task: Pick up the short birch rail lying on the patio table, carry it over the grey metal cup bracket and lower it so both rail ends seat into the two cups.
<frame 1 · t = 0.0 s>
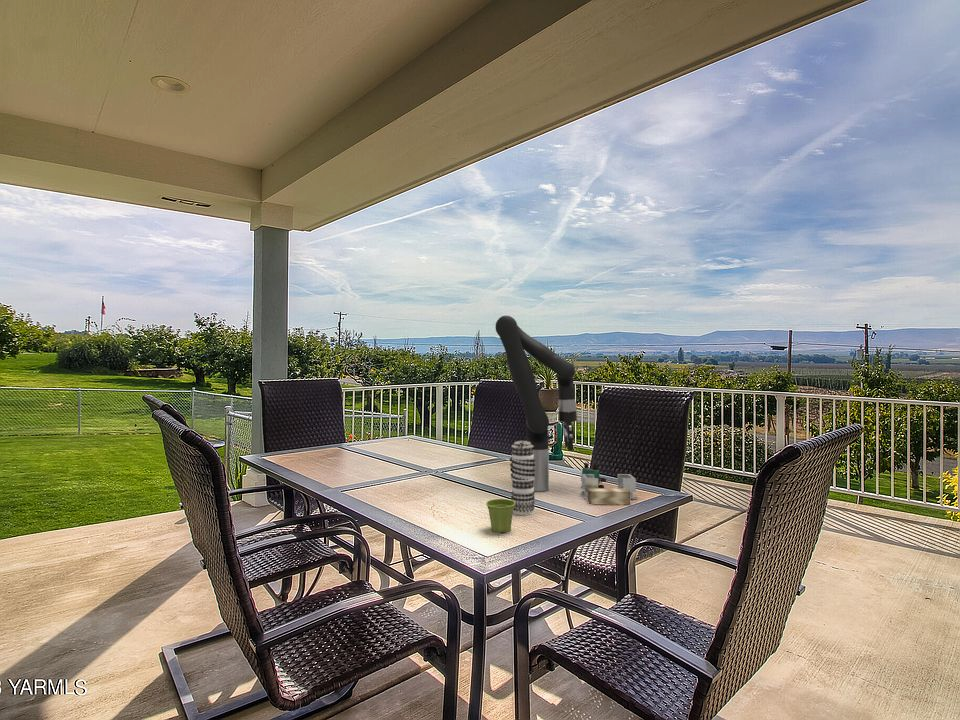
hand: (569, 448, 209), 17 cm above the table, tool pointing down, fingers open, 8 cm apart
cup bracket: (608, 496, 197), on the table
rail: (608, 503, 187), on the table
plant pot: (501, 530, 158), on the table
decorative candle: (522, 511, 178), on the table
binoculars: (593, 488, 211), on the table
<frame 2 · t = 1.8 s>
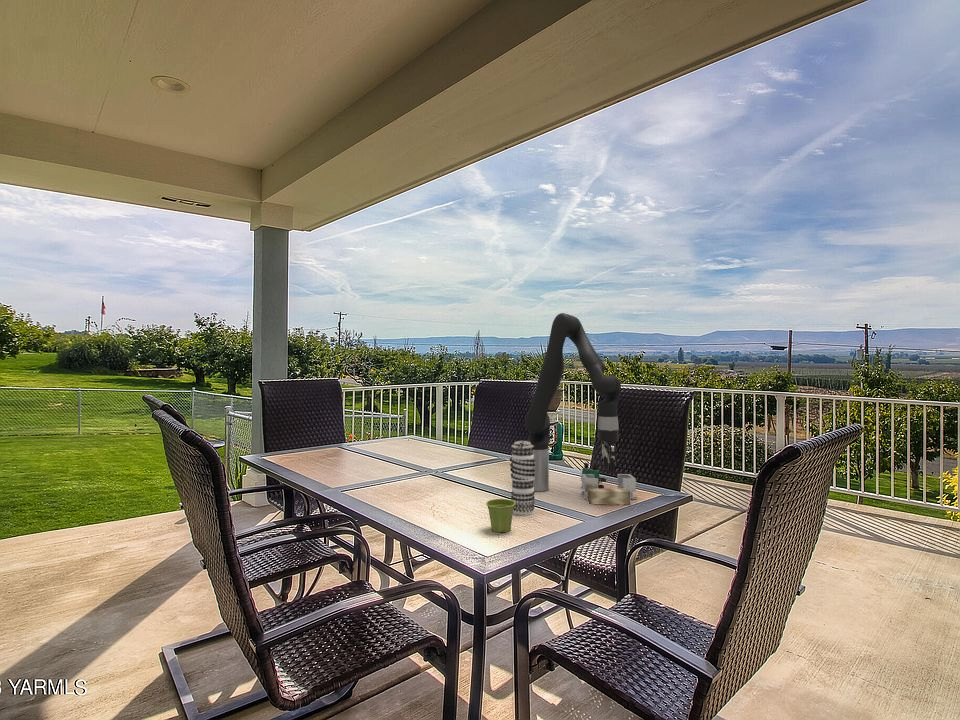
hand: (609, 470, 188), 12 cm above the table, tool pointing down, fingers open, 8 cm apart
nothing on the table moved.
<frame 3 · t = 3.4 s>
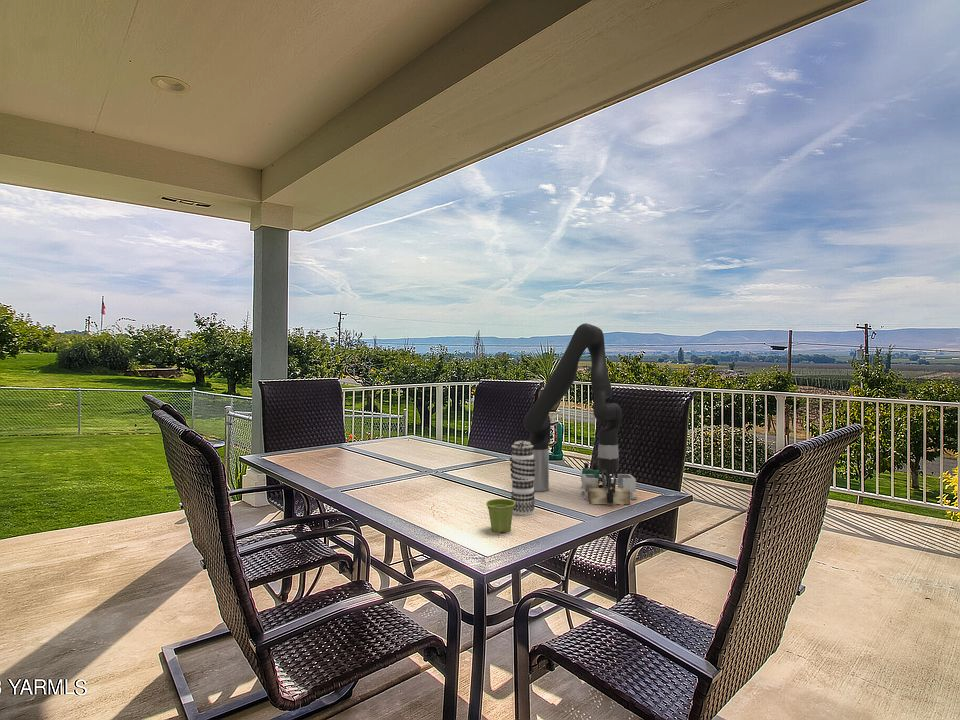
hand: (608, 500, 187), 1 cm above the table, tool pointing down, fingers closed on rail, 4 cm apart
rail: (608, 503, 187), on the table, touching gripper
everything else where it was.
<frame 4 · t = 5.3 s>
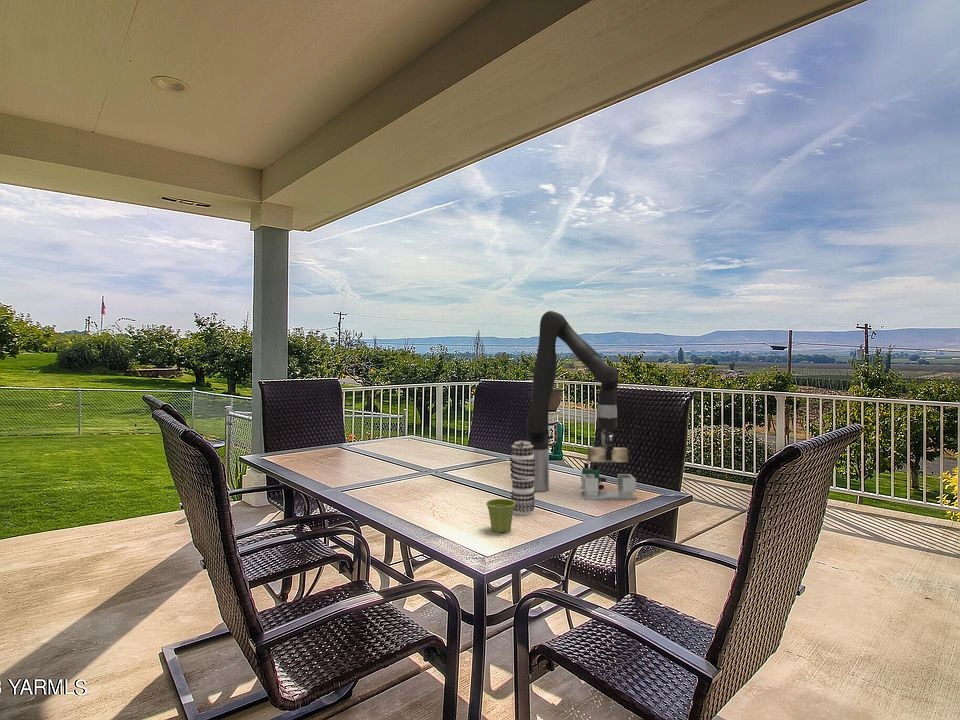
hand: (607, 458, 196), 15 cm above the table, tool pointing down, fingers closed on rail, 4 cm apart
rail: (607, 460, 196), point 14 cm above the table, touching gripper
everything else where it was.
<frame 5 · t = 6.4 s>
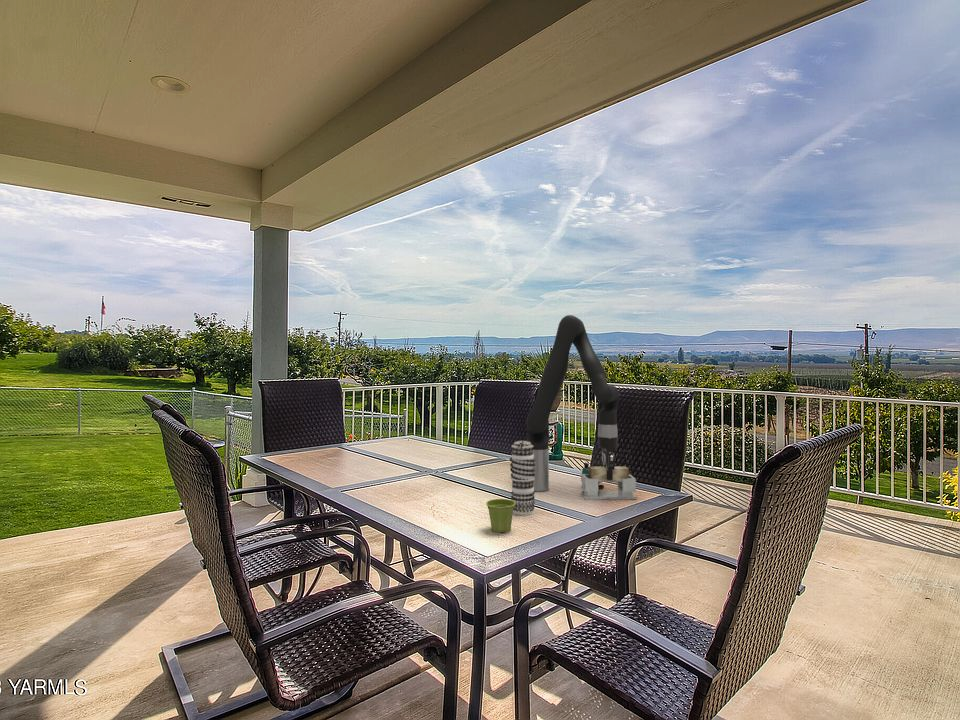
hand: (608, 478, 197), 7 cm above the table, tool pointing down, fingers closed on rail, 4 cm apart
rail: (608, 480, 197), point 6 cm above the table, touching gripper
everything else where it was.
when the fingers open (5 cm above the table, at t = 7.1 s): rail drops 1 cm, resting on cup bracket.
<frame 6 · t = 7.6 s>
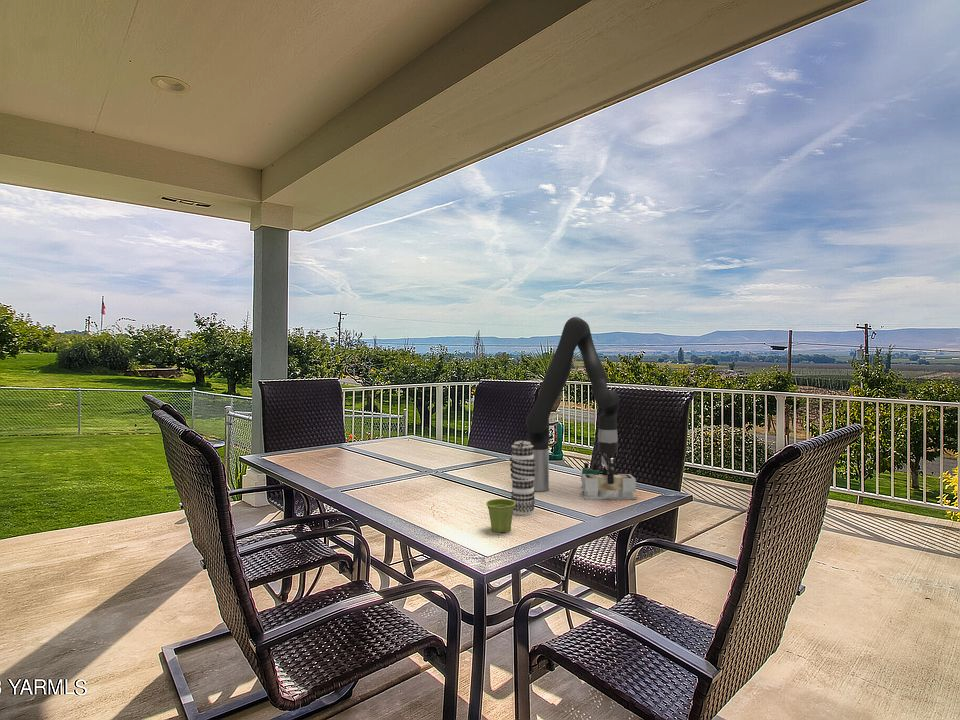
hand: (608, 481, 197), 6 cm above the table, tool pointing down, fingers open, 8 cm apart
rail: (608, 488, 197), point 3 cm above the table, touching cup bracket
everything else where it was.
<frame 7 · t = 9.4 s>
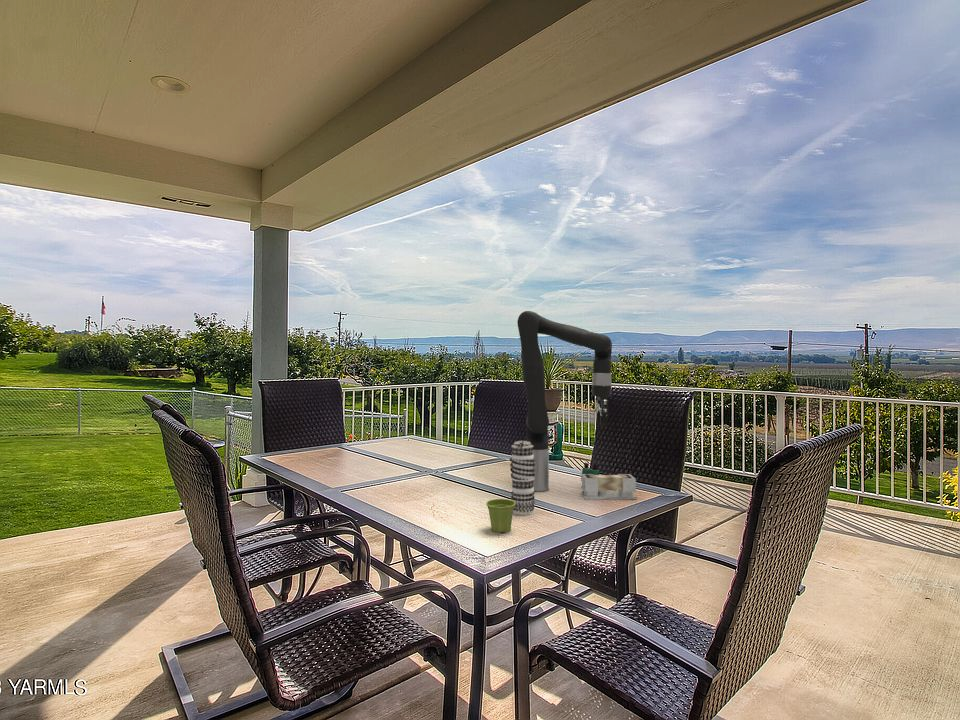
hand: (601, 424, 200), 28 cm above the table, tool pointing down, fingers open, 8 cm apart
nothing on the table moved.
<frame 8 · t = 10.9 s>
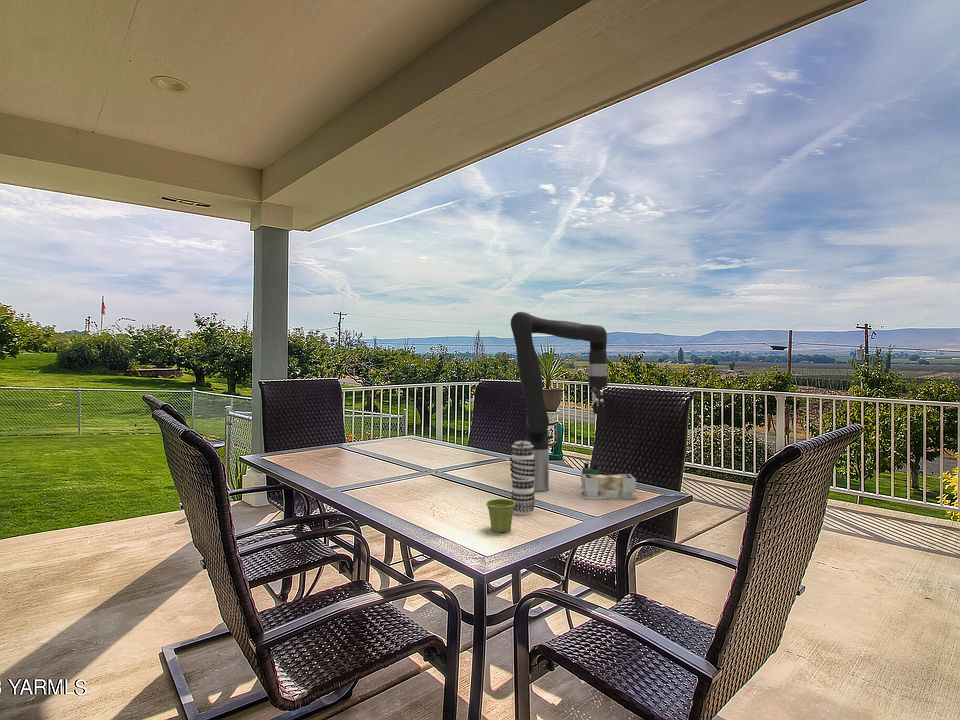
hand: (598, 415, 201), 32 cm above the table, tool pointing down, fingers open, 8 cm apart
nothing on the table moved.
at the end: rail 0.1 cm off-centre on the cup bracket, point 3.0 cm above the cup bracket's base; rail tilted 0°; the gripper is holding nothing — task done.
